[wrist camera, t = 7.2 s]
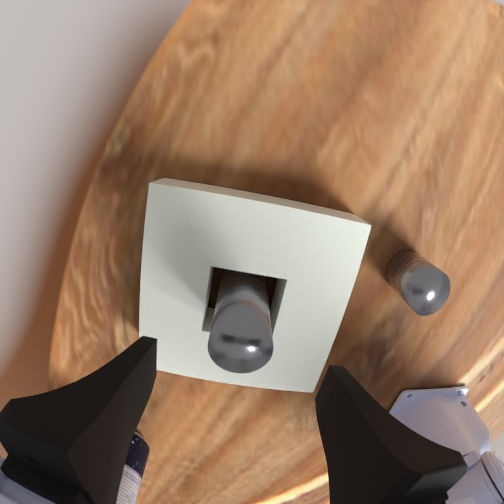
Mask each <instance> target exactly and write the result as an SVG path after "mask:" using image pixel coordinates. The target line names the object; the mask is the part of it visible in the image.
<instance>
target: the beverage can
mask: <svg viewBox="0 0 504 504" xmlns="http://www.w3.org/2000/svg"><path fill="white" fill-rule="evenodd" d="M148 455H149V447H148V445H147V443H146V442H145V441H144V439H143V437H142V436H141V435H140V434H139V433H138V432H136V431H135V432H134V435H133V438H132V440H131V443H130V447H129V450H128V454H127V458H126V461H125V465H124V469H123V473H122V478H121V482H120V487H119V491H118V496H117V502H116V504H135V503H136V499H137V495H138V491H139V488H140V484H141V480H142V476H143V473H144V469H145V465H146V462H147V458H148Z"/></svg>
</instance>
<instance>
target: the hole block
mask: <svg viewBox="0 0 504 504" xmlns="http://www.w3.org/2000/svg"><path fill="white" fill-rule="evenodd" d="M371 226H372V225H370V224H369V223H367V222H366V221H364V220H363V219H361V218H360V217H358V216H356V215H355V214H351V213H347V212H343V211H339V210H334V209H330V208H325V207H321V206H316V205H312V204H307V203H302V202H298V201H293V200H288V199H283V198H278V197H273V196H268V195H263V194H258V193H252V192H247V191H242V190H236V189H230V188H225V187H219V186H213V185H207V184H201V183H195V182H189V181H182V180H176V179H169V178H163V179H159V180H156V181H153V182H150V183H149V189H148V197H147V206H146V215H145V225H144V237H143V249H142V263H141V281H140V309H139V338H140V337H142V336H147V337H152V338H156V339H157V366H156V370H160V371H165V372H169V373H174V374H179V375H184V376H189V377H194V378H199V379H205V380H211V381H217V382H223V383H229V384H236V385H243V386H250V387H258V388H267V389H276V390H286V391H298V392H311V393H313V391H314V389H315V387H316V384H317V382H318V380H319V377H320V375H321V373H322V370H323V368H324V365H325V363H326V360H327V358H328V355H329V353H330V350H331V348H332V345H333V342H334V340H335V337H336V334H337V332H338V329H339V326H340V324H341V321H342V318H343V315H344V312H345V310H346V307H347V304H348V301H349V298H350V295H351V292H352V289H353V286H354V283H355V280H356V277H357V273H358V270H359V267H360V264H361V261H362V257H363V254H364V250H365V247H366V244H367V240H368V237H369V233H370V229H371ZM214 267H218V268H224V269H229V270H235V271H240V272H246V273H252V274H257V275H263V276H269V277H275V278H278V280H277V284H276V288H275V292H274V296H273V300H272V304H271V308H270V320H271V329H272V337H273V354H272V357H271V359H270V360H269V362H268V363H267V364H266V365H265V366H263V367H262V368H260V369H259V370H256V371H254V372H250V373H232V372H229V371H226V370H224V369H222V368H220V367H219V366H217V365H216V364H215V363H214V362H213V360H212V359H211V357H210V355H209V353H208V340H209V335H210V330H211V325H212V321H213V316H214V311H215V308H209V307H208V301H209V294H210V287H211V281H212V274H213V268H214Z"/></svg>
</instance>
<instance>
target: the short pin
mask: <svg viewBox="0 0 504 504" xmlns="http://www.w3.org/2000/svg"><path fill="white" fill-rule="evenodd" d="M386 278H387V281H388V283H389V284H390V286H391V287H392V288H393V289H394V290H395V291H396V292H397V293H398V294H399V295H400V296H401V297H402V298H403V299H404V301H405V302H406V303H407V304H408V305H409V306H410V307H411V308H412V309H413V310H414V311H415V312H416V313H417V314H419V315H422V316H427V315H431V314H433V313H435V312H436V311H438V310H439V309H440V308H441V307H442V306H443V305H444V303H445V302H446V300H447V298H448V296H449V293H450V280H449V278H448V276H447V275H446V274H445V273H443V272H442V271H441V270H439V269H438V268H437V267H435V266H434V265H432V264H431V263H430V262H428V261H427V260H426V259H424V258H423V257H421V256H420V255H418V254H417V253H416V252H414V251H411V250H404V251H401V252H399V253H397V254H396V255H394V256H393V258H392V259H391V260H390V262H389V264H388V266H387V269H386Z"/></svg>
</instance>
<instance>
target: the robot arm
mask: <svg viewBox="0 0 504 504" xmlns="http://www.w3.org/2000/svg"><path fill="white" fill-rule="evenodd" d="M156 366H157V339H156V338H152V337H147V336H142V337H140V338H139V339H138V340H137V341H135V342H134V343H133V344H132V345H131V346H129V347H128V348H127V349H126V350H124V351H123V352H122V353H120V354H119V355H118V356H116V357H115V358H114V359H113V360H111V361H110V362H108V363H107V364H105V365H104V366H102V367H101V368H99V369H98V370H96V371H94V372H93V373H91V374H89V375H88V376H86V377H84V378H82V379H80V380H78V381H76V382H73V383H71V384H68V385H66V386H63V387H61V388H58V389H56V390H52V391H49V392H46V393H42V394H38V395H34V396H28V397H23V398H17V399H11V400H10V401H9V402H8V403H7V404H6V405H5V407H4V408H3V410H2V411H1V412H0V442H1V444H2V445H3V447H4V448H5V450H6V451H7V453H8V456H7V458H6V459H5V460H4V459H3V458H2V457H1V456H0V504H116V502H117V496H118V491H119V487H120V482H121V478H122V473H123V469H124V465H125V461H126V458H127V454H128V450H129V447H130V443H131V440H132V438H133V435H134V432H135V430H136V428H137V425H138V423H139V421H140V419H141V416H142V414H143V412H144V409H145V407H146V405H147V402H148V400H149V398H150V395H151V392H152V389H153V385H154V382H155V378H156ZM467 392H468V387H467V386H463V387H452V388H438V389H420V390H404V391H403V392H401V394H400V395H399V397H398V399H397V400H396V402H395V403H394V405H393V407H392V408H391V410H390V411H389V412H387V411H386V410H385V409H384V408H383V407H382V406H381V405H380V404H379V403H378V402H377V401H375V400H374V399H373V398H372V397H371V396H370V395H369V393H368V392H367V391H366V390H365V389H364V388H363V387H362V386H361V385H360V384H359V383H358V382H357V381H356V380H355V379H354V377H353V376H352V375H351V374H350V373H349V372H348V371H347V370H346V369H345V368H344V367H343V366H332V365H330V366H329V368H328V371H327V373H326V375H325V378H324V380H323V382H322V385H321V387H320V389H319V392H318V394H317V396H316V398H315V402H316V415H317V421H318V426H319V430H320V435H321V439H322V443H323V447H324V452H325V456H326V461H327V466H328V477H329V491H330V504H504V464H503V462H502V461H501V459H500V458H499V456H498V455H497V454H496V453H495V452H492V451H490V445H491V439H490V433H489V430H488V428H487V426H486V425H485V423H484V422H483V421H482V419H481V418H480V416H479V415H478V413H477V412H476V410H475V409H474V407H473V406H472V405H471V403H470V402H469V400H468V399H467V398H466V396H465V395H466V393H467ZM489 451H490V452H489Z"/></svg>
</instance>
